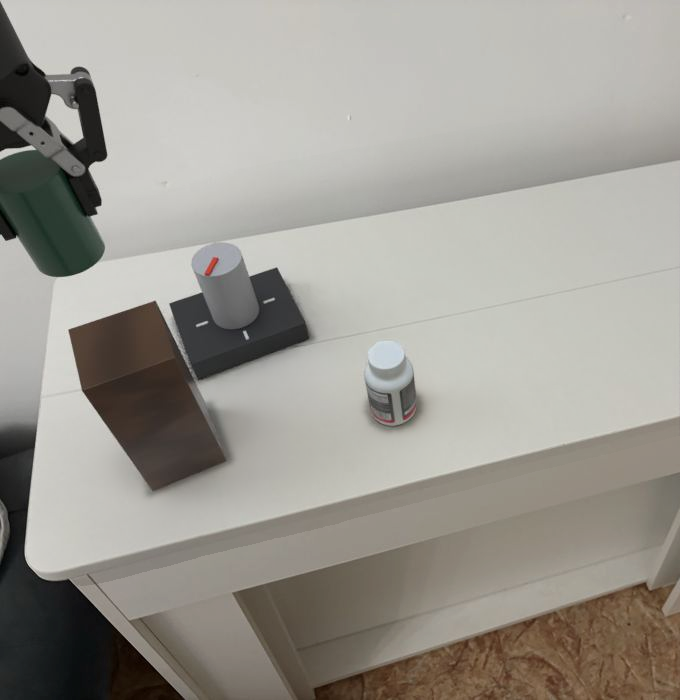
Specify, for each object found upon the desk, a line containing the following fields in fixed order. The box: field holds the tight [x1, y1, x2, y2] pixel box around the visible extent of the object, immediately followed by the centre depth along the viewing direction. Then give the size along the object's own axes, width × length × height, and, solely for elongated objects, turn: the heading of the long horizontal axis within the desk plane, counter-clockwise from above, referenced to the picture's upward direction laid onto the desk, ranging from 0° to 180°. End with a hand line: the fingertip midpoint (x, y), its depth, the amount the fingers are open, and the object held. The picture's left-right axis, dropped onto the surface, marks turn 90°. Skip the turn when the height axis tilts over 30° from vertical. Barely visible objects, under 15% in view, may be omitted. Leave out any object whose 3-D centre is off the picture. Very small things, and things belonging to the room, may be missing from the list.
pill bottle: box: [363, 339, 418, 427], centre depth 78 cm, size 5×5×10 cm
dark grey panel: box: [168, 266, 310, 381], centre depth 88 cm, size 14×11×3 cm
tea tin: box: [0, 149, 106, 278], centre depth 53 cm, size 5×5×8 cm
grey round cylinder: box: [190, 241, 259, 329], centre depth 84 cm, size 6×6×9 cm
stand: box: [67, 300, 227, 492], centre depth 71 cm, size 8×8×18 cm
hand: (50, 220), depth 54 cm, fingers closed on tea tin, 5 cm apart
